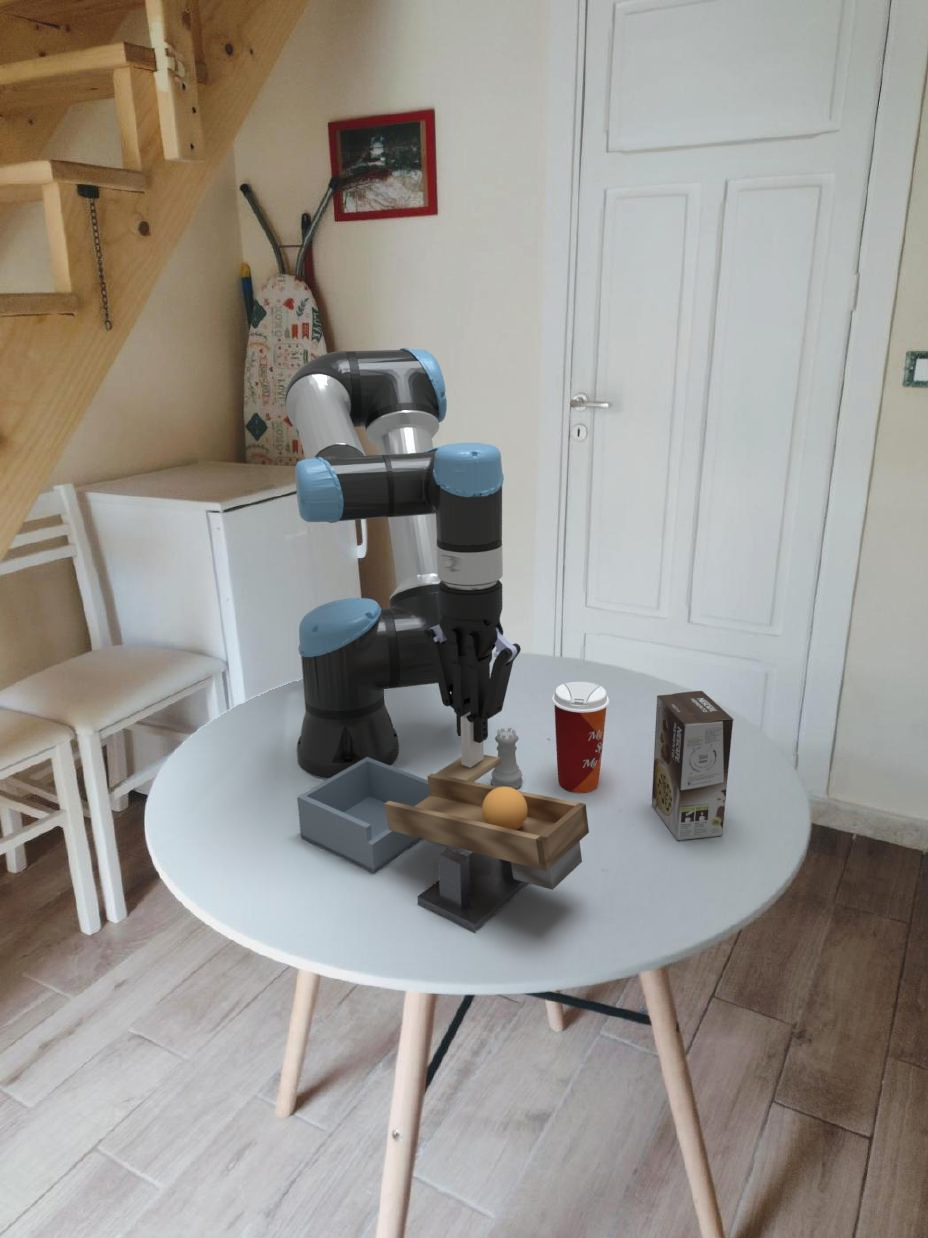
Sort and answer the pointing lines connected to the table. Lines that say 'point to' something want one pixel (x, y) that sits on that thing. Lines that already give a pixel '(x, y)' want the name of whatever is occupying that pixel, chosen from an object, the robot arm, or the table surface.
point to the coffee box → (691, 764)
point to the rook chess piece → (507, 761)
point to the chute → (457, 821)
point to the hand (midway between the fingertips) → (472, 761)
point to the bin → (360, 813)
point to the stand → (470, 888)
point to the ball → (505, 808)
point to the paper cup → (579, 734)
